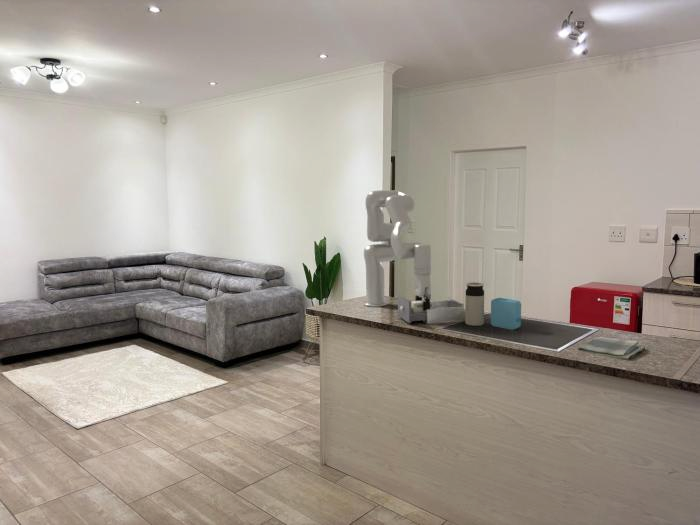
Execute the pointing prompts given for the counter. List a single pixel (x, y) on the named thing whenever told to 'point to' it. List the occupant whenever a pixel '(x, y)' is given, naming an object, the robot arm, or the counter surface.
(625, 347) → the dish towel
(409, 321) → the grey drawer
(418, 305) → the cartridge
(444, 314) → the grey storage bin
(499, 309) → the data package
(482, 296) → the travel mug
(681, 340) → the counter surface
